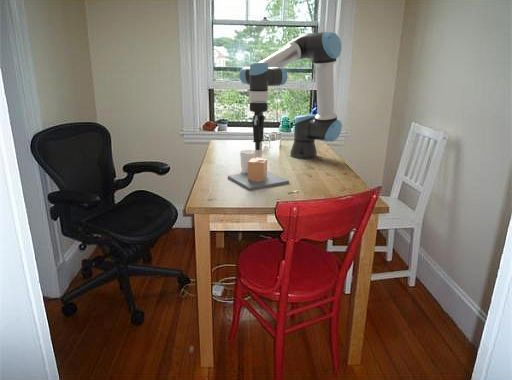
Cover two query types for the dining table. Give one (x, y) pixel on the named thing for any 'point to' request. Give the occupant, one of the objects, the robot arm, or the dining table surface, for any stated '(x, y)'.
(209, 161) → the dining table surface
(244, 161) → the white cup
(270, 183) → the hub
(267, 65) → the robot arm
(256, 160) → the peach colored cube
